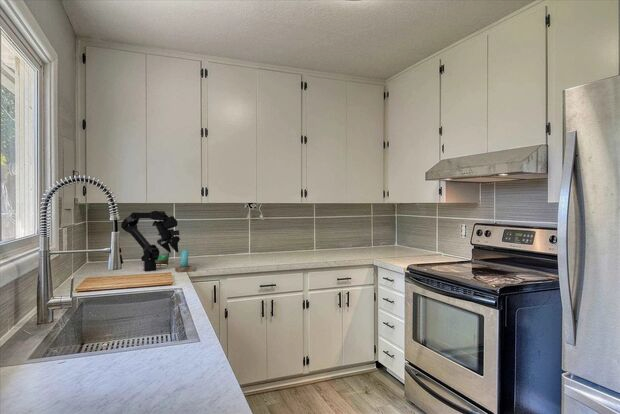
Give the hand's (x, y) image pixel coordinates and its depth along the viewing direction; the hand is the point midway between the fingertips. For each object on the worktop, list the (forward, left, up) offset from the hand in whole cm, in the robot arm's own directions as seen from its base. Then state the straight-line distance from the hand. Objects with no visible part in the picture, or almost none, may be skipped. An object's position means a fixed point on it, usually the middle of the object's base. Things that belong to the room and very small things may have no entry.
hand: (174, 252), depth 239 cm
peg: (+5, -6, -11) cm, 14 cm away
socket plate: (+5, -6, -11) cm, 14 cm away
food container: (-1, +30, -12) cm, 32 cm away
